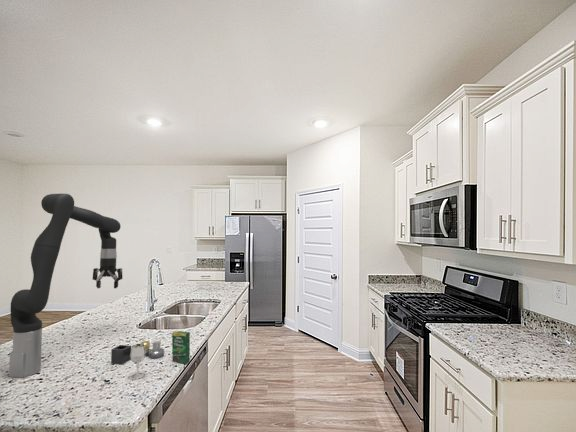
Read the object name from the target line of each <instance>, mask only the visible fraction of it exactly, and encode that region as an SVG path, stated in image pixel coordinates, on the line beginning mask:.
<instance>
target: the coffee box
mask: <svg viewBox="0 0 576 432" xmlns="http://www.w3.org/2000/svg"><path fill="white" fill-rule="evenodd" d="M171 333H172V334H171V338H172V339H171V341H172V343H171V344H172V345H171V349H172V350H171V351H172V352H171V354H172V358H171V359H172V360H171V361H172V362H174V363H179V364H183V365H188V364H189V363H190V361H191V360H190V358H191V357H190V354H191V352H190V351H191V350H190V349H191V348H190V346H191V344H190V343H191V339H190V338H191V335H190V334H191V333H190V332H189V331H182V330H174V331H172V332H171Z"/></svg>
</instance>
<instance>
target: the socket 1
mask: <svg viewBox="0 0 576 432" xmlns="http://www.w3.org/2000/svg"><path fill="white" fill-rule="evenodd" d="M131 348H132V345H129V344H128V345H125V344H119V345H117V346H115V347H113V348H112V349H111V351H110V352H111V354H110V355H111V356H110V358H111V359H110V360H111V361H110V363H111V364H115V365H124V364H126V363H127V362H129V361H132V360H131V359H130V352H131Z"/></svg>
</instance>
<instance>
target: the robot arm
mask: <svg viewBox="0 0 576 432" xmlns="http://www.w3.org/2000/svg"><path fill="white" fill-rule="evenodd" d="M40 203H41V204H40V205H41V208H42V209H43V211H45V213H47V214H50V215H52V216H51V219H50V221H49V223H48V225H47V226H46V227H45V228H44V230H43V231H42V232H41V233H40V234H39V235H38V236H37V238H36V240H35V241H34V244H33V247H32V250H31V254H30V264H31V268H32V274H33V275H32V277H33V278H32V283H31V286H30V288H29V289H27V288H26V289H25V288H24V289H20V290H18V291H17V292H15V293H14V295H13V296H12V297H11V302H10V323H11V326H12V351H10V352H9V369H8V370H9V371H8V376H9V378H10V377H11V378H20V379H21V378H26V377H29V376H33V375H34V374H38V373H39V372H40V371H41V369H42V364H41V363H42V345H43V344H42V343H43V342H42V341H43V340H42V337H43V322H42V320H41V319H40V318H38V316H37V315H36V314H39V313H41V312H43V310H44V309H45V308H46V306H47V304H48V300H49V295H50V290H51V283H52V279H53V274H54V270H55V267H56V263H57V259H58V256H59V254H60V251H61V245H62V242H63V238H64V236H65V232H66V230H67V226H68V223H69V221H70V219H71V220H75V221H78V222H80V223H83V224H84V225H85V224H86V225H87V226H90V227H92V228H95V229H98V233H99V237H100V240H101V242H100V244H101V245H100V254H99V257H100V259H99V268H98V267H96V268H94V267H93V271H92V280H93V281H95V282H96V284H95V287H96V288H97V289H100V288H101V287H102V286H101V285H102V281H101V280H102V279H103V278H106V277H109V278H112V280H114V281H113V289H118V287H119V281H121V280H123V268H122V267H121V268H117V257H118V255H117V239H116V238H115V237H114V236H111V234H115V233H118V232H119V231H120V230H121V226H122V225H121V223H120V222H119V221H118V220H117V219H115V218H113V217H108V216H104V215H102V214H100V213H98V212H95V211H94V210H91V209H87V208H83V207H78V206H76V205H75V199H74V198H73V196H72V195H71V194H69V193H50V194H46V195H45V196H44V197H42V200H41V202H40ZM99 272H100V274H99ZM116 272H117V274H116Z"/></svg>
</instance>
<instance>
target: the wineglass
mask: <svg viewBox="0 0 576 432" xmlns="http://www.w3.org/2000/svg"><path fill="white" fill-rule="evenodd" d="M145 358H146V348H145V345H144V344H141V343H136V344H133V345H131V352H130V359H131V360H130V361H131V362H134V363H136V373H135V374H133V375H132V376H131V379H133V380H136V379H141V378H143V377H144V374H143V373H139V367H140V363H141V362H142V361H144V360H145Z"/></svg>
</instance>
